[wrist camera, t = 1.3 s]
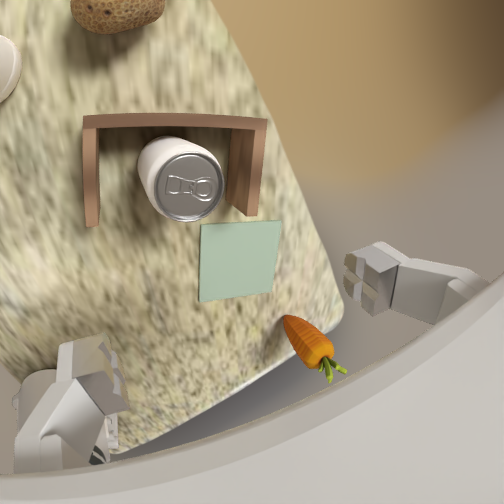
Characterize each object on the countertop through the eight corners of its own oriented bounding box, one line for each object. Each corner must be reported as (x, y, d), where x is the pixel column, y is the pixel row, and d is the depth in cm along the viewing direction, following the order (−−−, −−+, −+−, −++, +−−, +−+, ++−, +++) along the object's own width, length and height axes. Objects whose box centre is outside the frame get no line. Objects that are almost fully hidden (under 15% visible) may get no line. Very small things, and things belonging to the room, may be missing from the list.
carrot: (303, 311, 52) (358, 368, 40) (283, 332, 52) (333, 393, 40) (287, 298, 49) (344, 358, 37) (265, 321, 50) (316, 385, 37)
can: (187, 194, 36) (220, 230, 26) (133, 189, 33) (142, 224, 23) (198, 139, 34) (237, 153, 24) (142, 131, 31) (155, 140, 21)
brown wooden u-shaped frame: (234, 199, 39) (257, 216, 33) (90, 207, 32) (86, 227, 26) (242, 116, 35) (267, 119, 29) (89, 115, 27) (83, 115, 22)
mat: (270, 290, 47) (271, 291, 47) (198, 300, 43) (199, 302, 42) (280, 220, 43) (281, 221, 42) (200, 224, 38) (201, 225, 38)
